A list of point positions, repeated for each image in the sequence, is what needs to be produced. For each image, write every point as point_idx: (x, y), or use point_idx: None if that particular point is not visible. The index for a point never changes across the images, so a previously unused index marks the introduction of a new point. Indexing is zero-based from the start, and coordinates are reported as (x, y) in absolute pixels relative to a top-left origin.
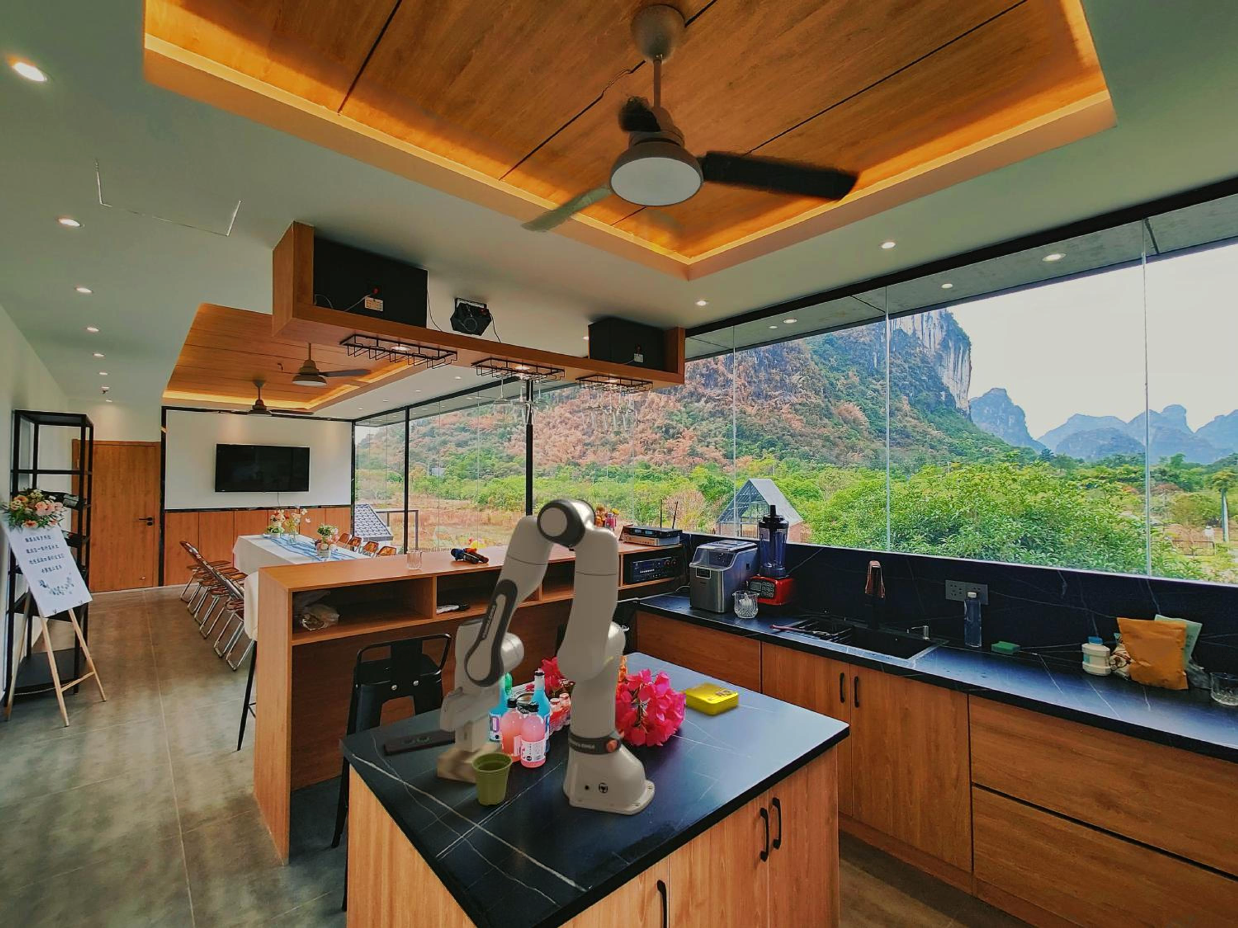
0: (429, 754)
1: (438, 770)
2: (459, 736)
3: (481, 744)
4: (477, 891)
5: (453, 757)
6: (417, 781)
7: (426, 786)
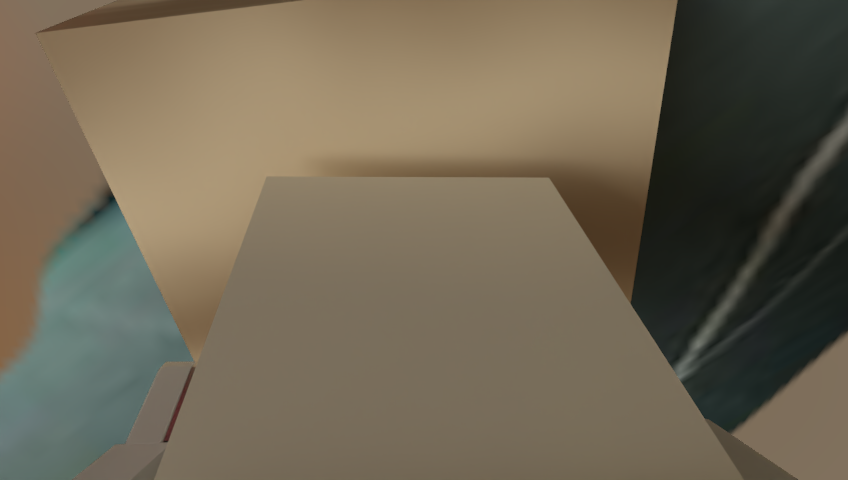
0: None
1: None
2: None
3: (369, 187)
4: None
5: None
6: (654, 339)
7: (701, 266)
